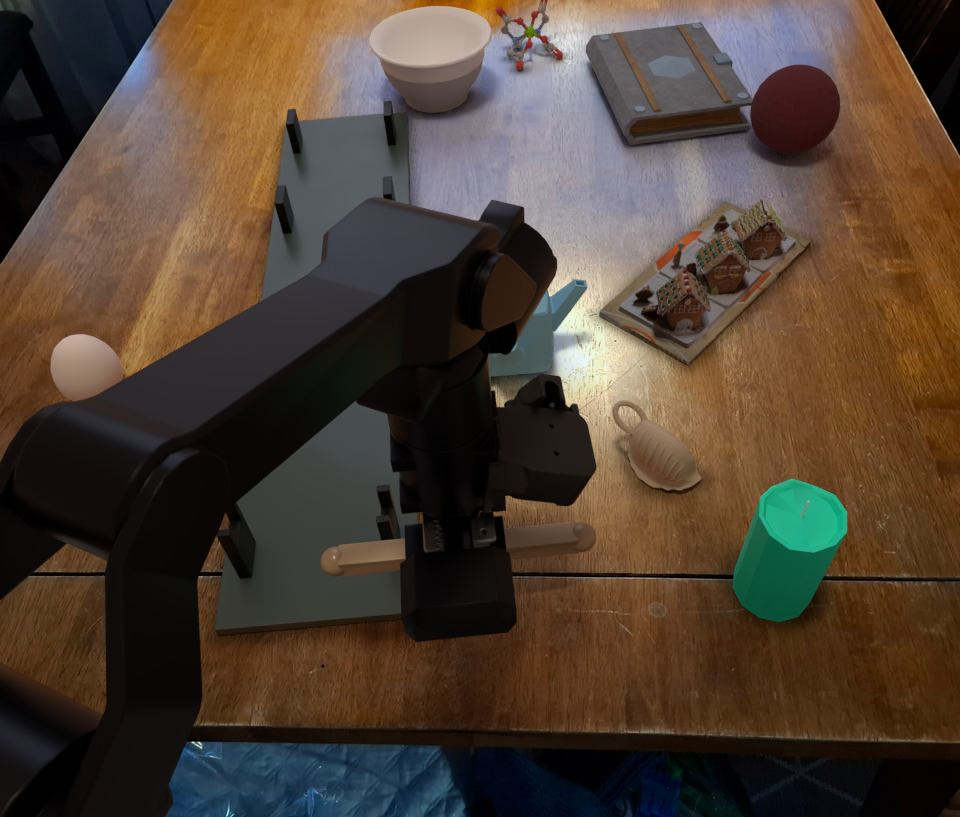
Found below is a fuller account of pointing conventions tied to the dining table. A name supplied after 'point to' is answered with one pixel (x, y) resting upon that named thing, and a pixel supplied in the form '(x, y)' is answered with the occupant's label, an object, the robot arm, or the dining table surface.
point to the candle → (788, 549)
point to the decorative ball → (795, 109)
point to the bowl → (432, 54)
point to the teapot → (539, 334)
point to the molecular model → (527, 34)
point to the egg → (84, 367)
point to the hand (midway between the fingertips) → (459, 556)
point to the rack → (344, 441)
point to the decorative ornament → (657, 453)
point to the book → (668, 83)
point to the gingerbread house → (706, 280)
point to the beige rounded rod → (517, 539)
